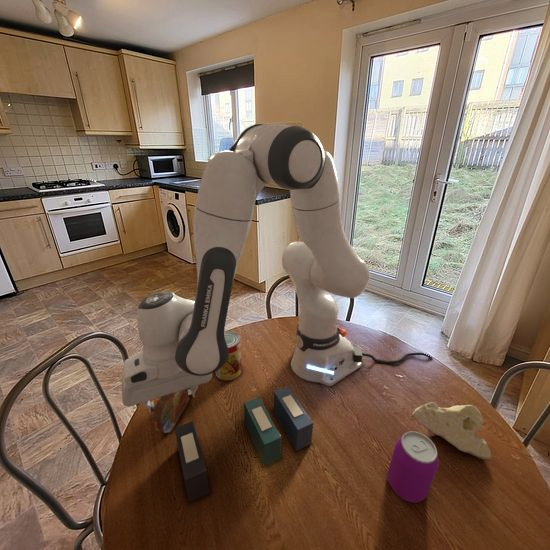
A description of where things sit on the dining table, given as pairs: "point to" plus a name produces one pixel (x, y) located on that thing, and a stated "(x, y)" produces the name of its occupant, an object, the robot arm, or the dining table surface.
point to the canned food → (231, 358)
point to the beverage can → (413, 466)
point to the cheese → (454, 426)
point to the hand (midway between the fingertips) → (172, 403)
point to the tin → (169, 410)
